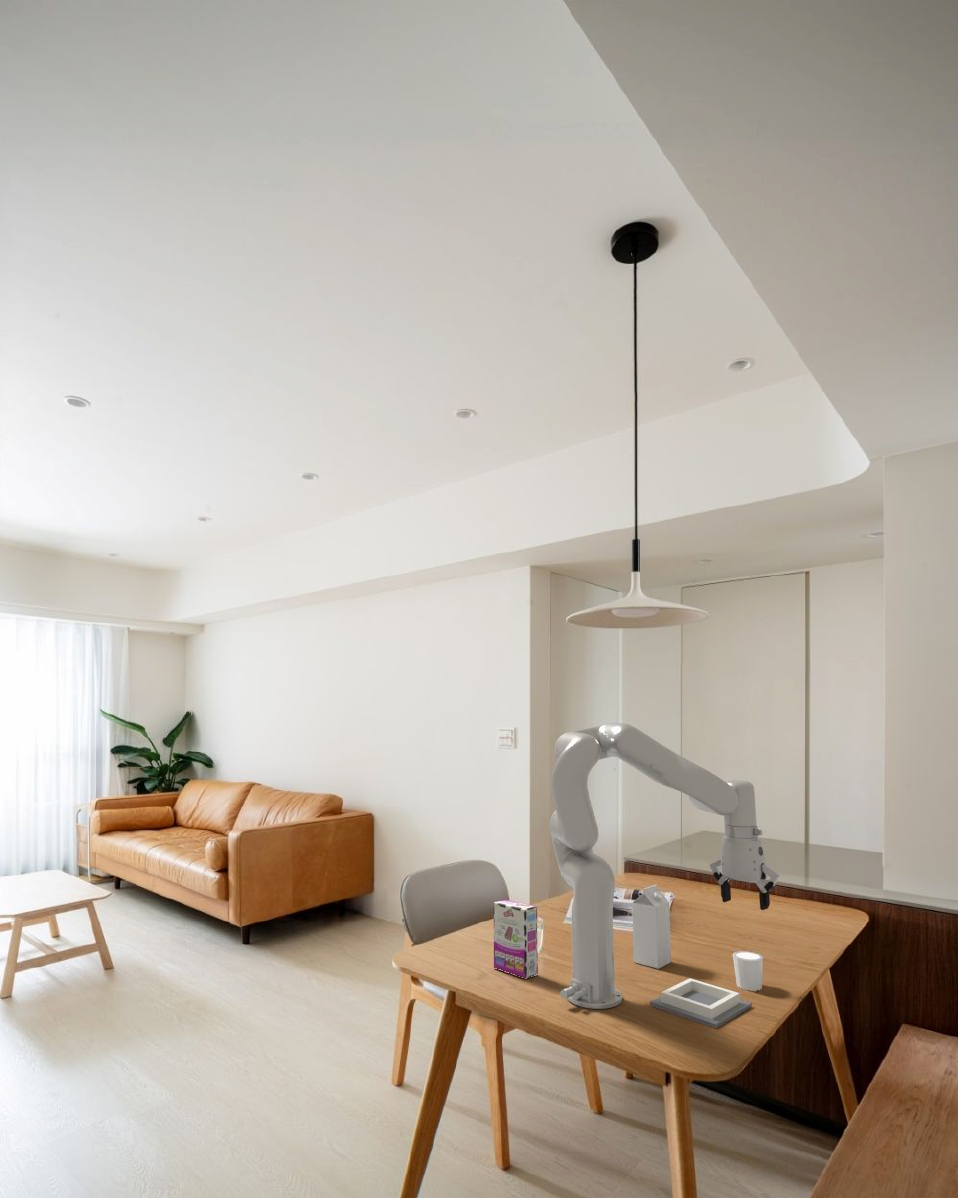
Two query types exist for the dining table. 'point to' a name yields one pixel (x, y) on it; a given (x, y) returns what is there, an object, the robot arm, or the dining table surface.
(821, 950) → the dining table surface
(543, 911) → the dining table surface
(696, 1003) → the holder tray
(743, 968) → the white cup
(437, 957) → the dining table surface
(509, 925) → the candy bar box
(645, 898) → the milk carton
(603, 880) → the robot arm
